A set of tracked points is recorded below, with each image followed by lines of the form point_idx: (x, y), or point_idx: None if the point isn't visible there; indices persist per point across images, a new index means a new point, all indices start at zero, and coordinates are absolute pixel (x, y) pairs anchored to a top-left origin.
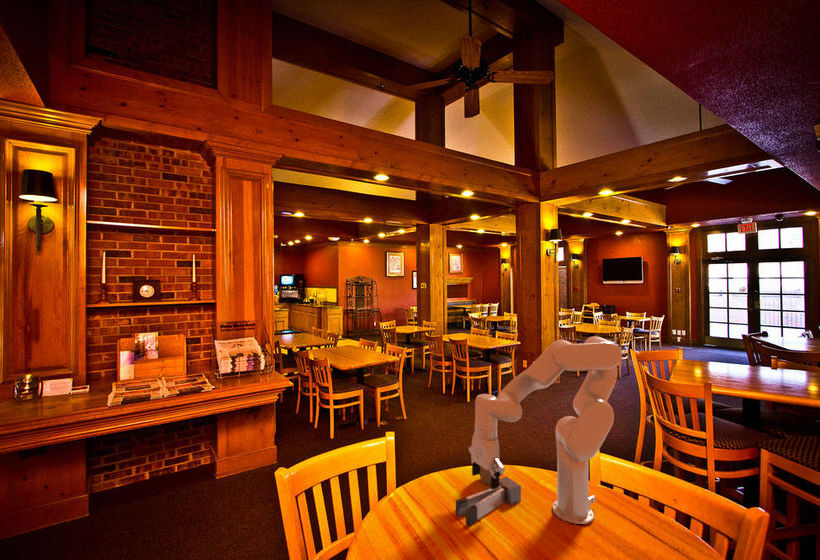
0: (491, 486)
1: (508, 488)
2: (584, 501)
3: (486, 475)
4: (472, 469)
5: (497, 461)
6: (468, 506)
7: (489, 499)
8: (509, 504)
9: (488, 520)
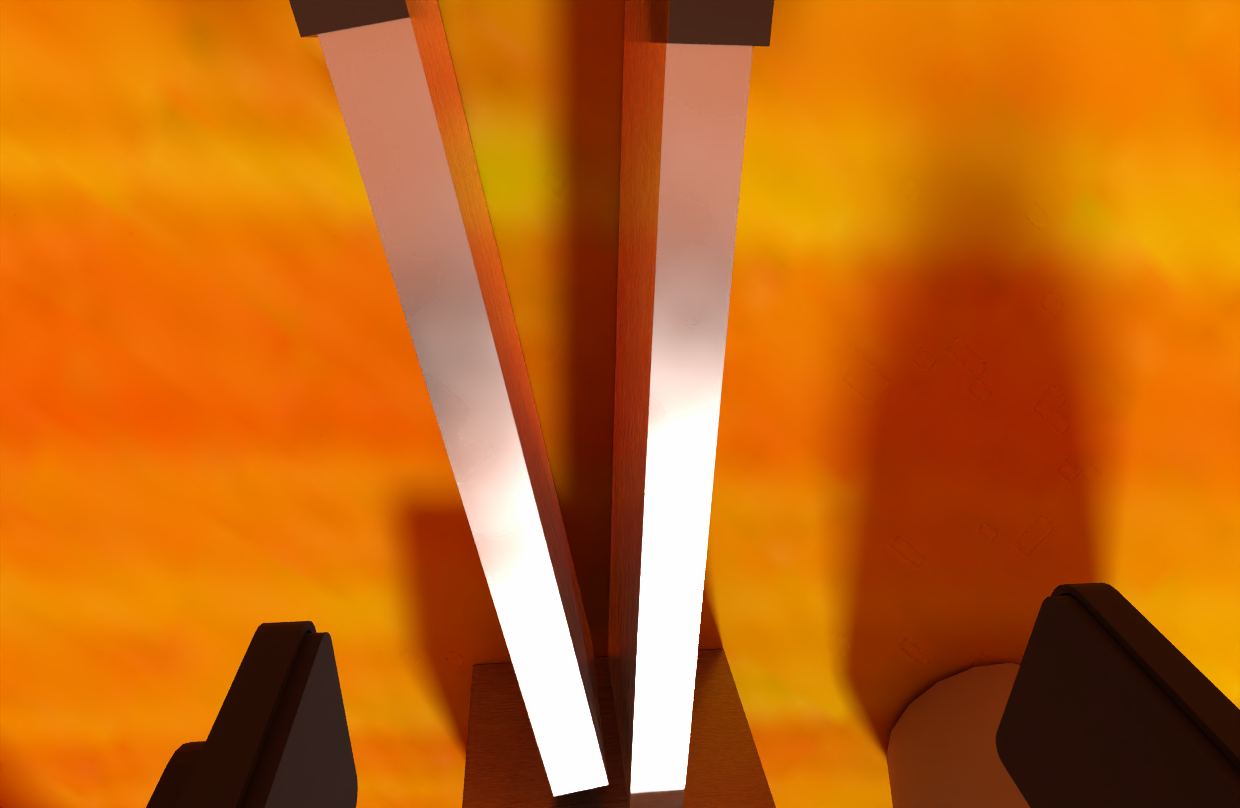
0: (248, 676)
1: None
2: None
3: (1004, 776)
4: (1215, 702)
5: None
6: (642, 58)
7: (455, 460)
8: (486, 667)
9: (323, 229)
